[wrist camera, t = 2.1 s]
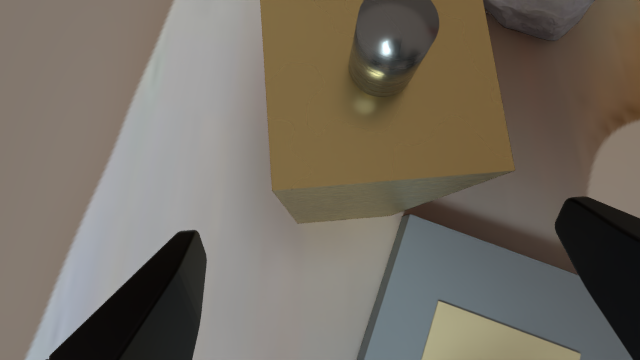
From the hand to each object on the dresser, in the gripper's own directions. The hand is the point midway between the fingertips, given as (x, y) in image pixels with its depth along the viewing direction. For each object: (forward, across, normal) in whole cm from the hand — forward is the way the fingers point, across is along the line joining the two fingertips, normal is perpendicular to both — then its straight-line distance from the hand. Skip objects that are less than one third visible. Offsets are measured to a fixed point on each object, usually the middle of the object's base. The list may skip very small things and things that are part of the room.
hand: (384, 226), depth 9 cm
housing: (+10, 0, +5) cm, 11 cm away
